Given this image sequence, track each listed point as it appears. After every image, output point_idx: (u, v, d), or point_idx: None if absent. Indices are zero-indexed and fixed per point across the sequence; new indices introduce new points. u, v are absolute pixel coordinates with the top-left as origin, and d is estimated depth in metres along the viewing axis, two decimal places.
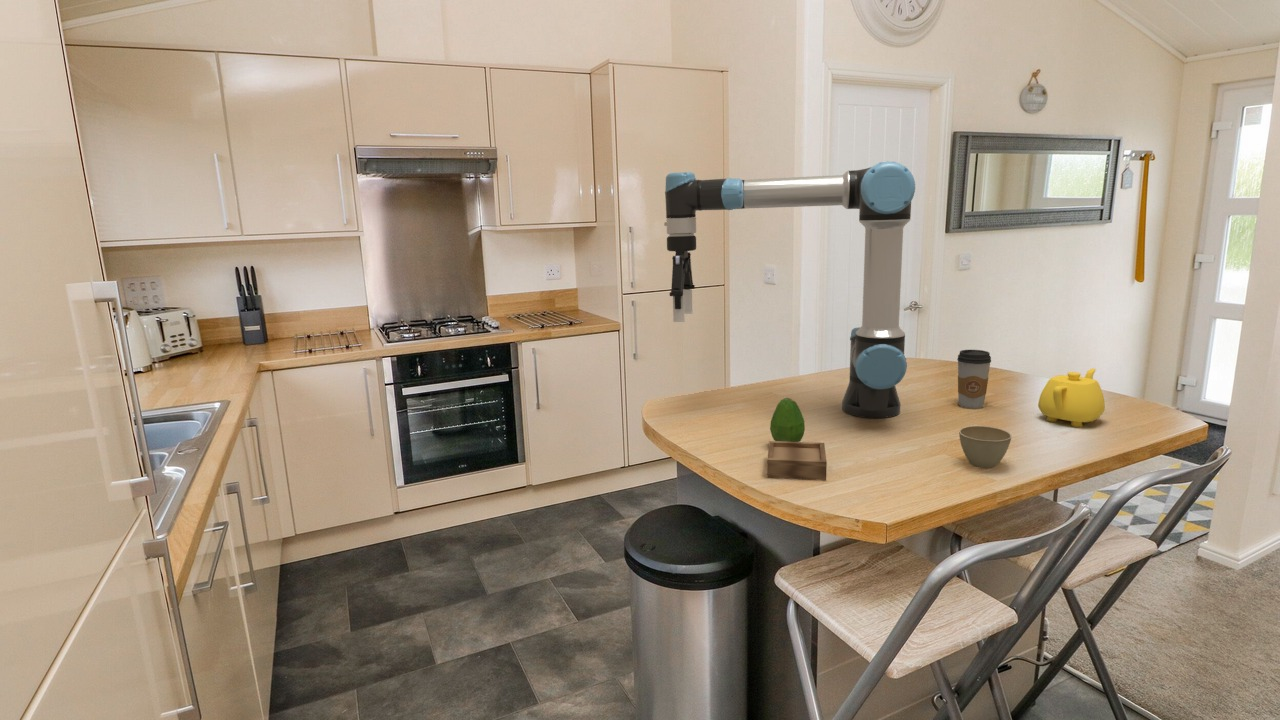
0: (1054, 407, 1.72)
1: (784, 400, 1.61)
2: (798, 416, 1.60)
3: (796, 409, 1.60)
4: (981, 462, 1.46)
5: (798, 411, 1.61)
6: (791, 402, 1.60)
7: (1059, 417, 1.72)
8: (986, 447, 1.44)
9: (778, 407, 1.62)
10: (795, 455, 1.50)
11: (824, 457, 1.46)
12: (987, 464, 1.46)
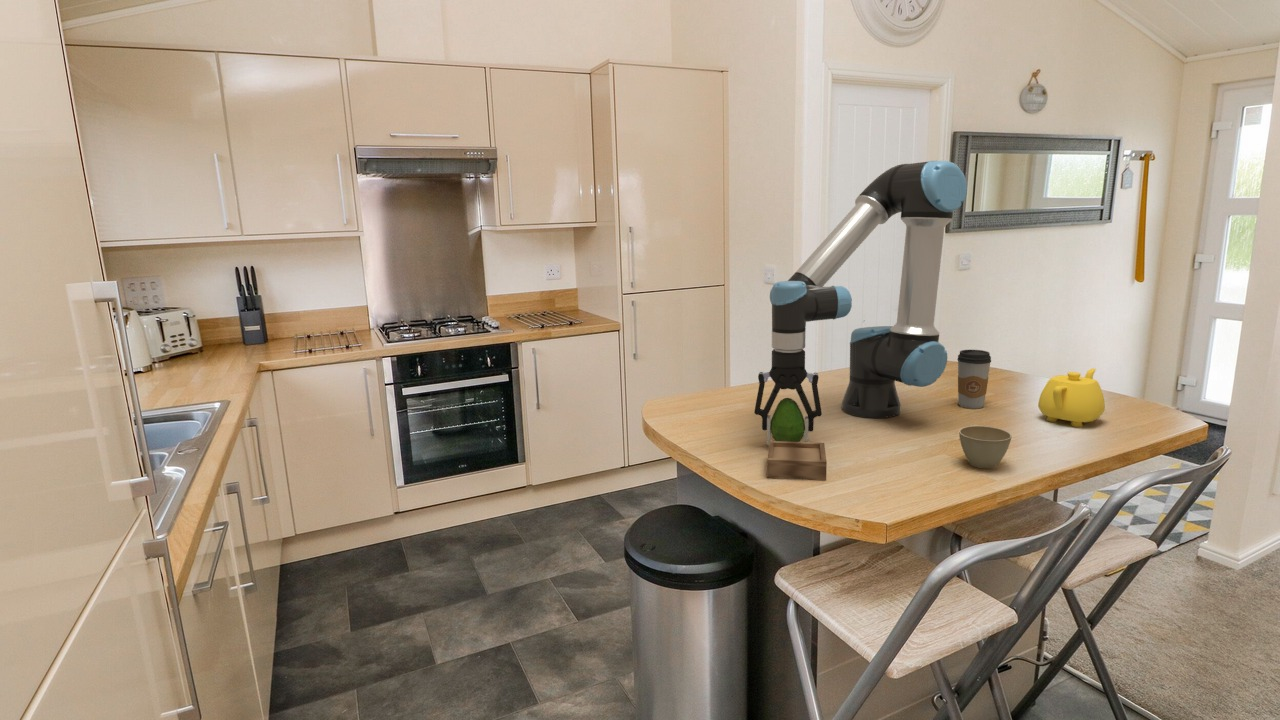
0: (1054, 407, 1.72)
1: (784, 400, 1.61)
2: (798, 416, 1.60)
3: (796, 409, 1.60)
4: (981, 462, 1.46)
5: (798, 411, 1.61)
6: (791, 402, 1.60)
7: (1059, 417, 1.72)
8: (986, 447, 1.44)
9: (778, 407, 1.62)
10: (795, 455, 1.50)
11: (824, 457, 1.46)
12: (987, 464, 1.46)
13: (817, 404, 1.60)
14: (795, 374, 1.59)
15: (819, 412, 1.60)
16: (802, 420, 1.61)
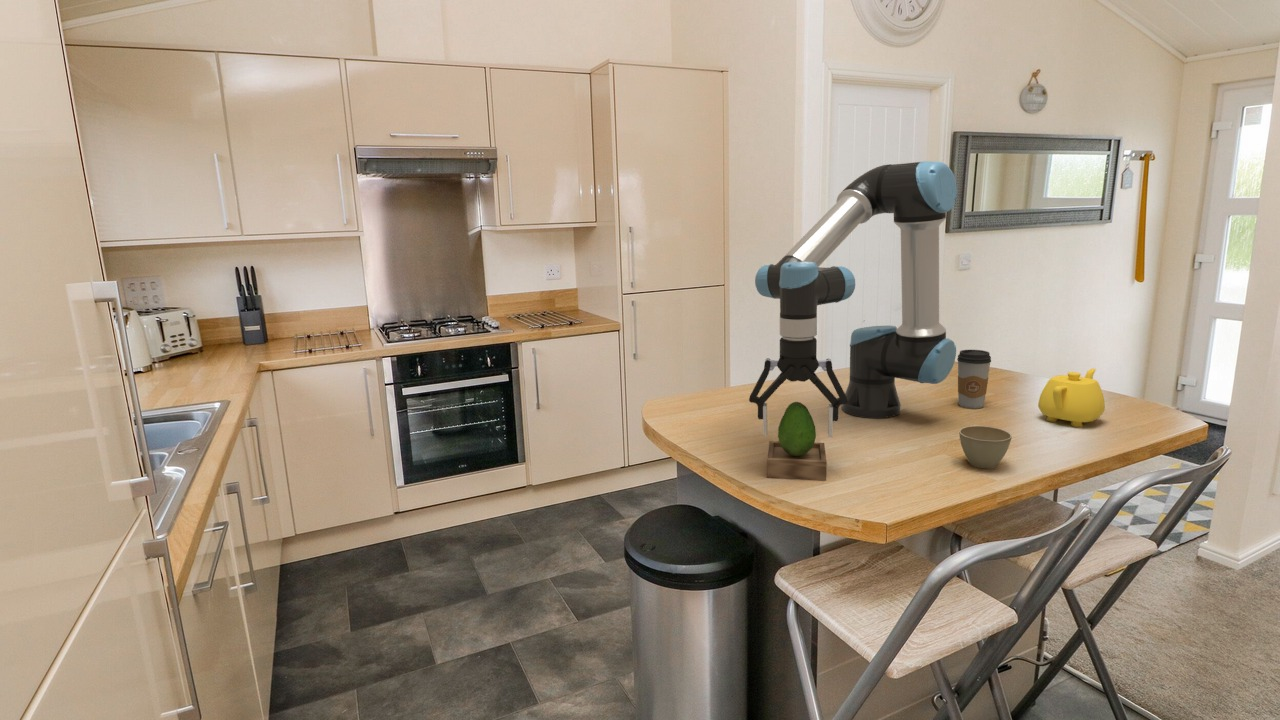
0: (1054, 407, 1.72)
1: (793, 404, 1.47)
2: (808, 422, 1.46)
3: (806, 414, 1.46)
4: (981, 462, 1.46)
5: (809, 416, 1.46)
6: (801, 406, 1.46)
7: (1059, 417, 1.72)
8: (986, 447, 1.44)
9: (787, 412, 1.47)
10: None
11: (824, 457, 1.46)
12: (988, 464, 1.46)
13: (839, 391, 1.44)
14: (804, 364, 1.45)
15: (844, 399, 1.44)
16: (813, 426, 1.47)
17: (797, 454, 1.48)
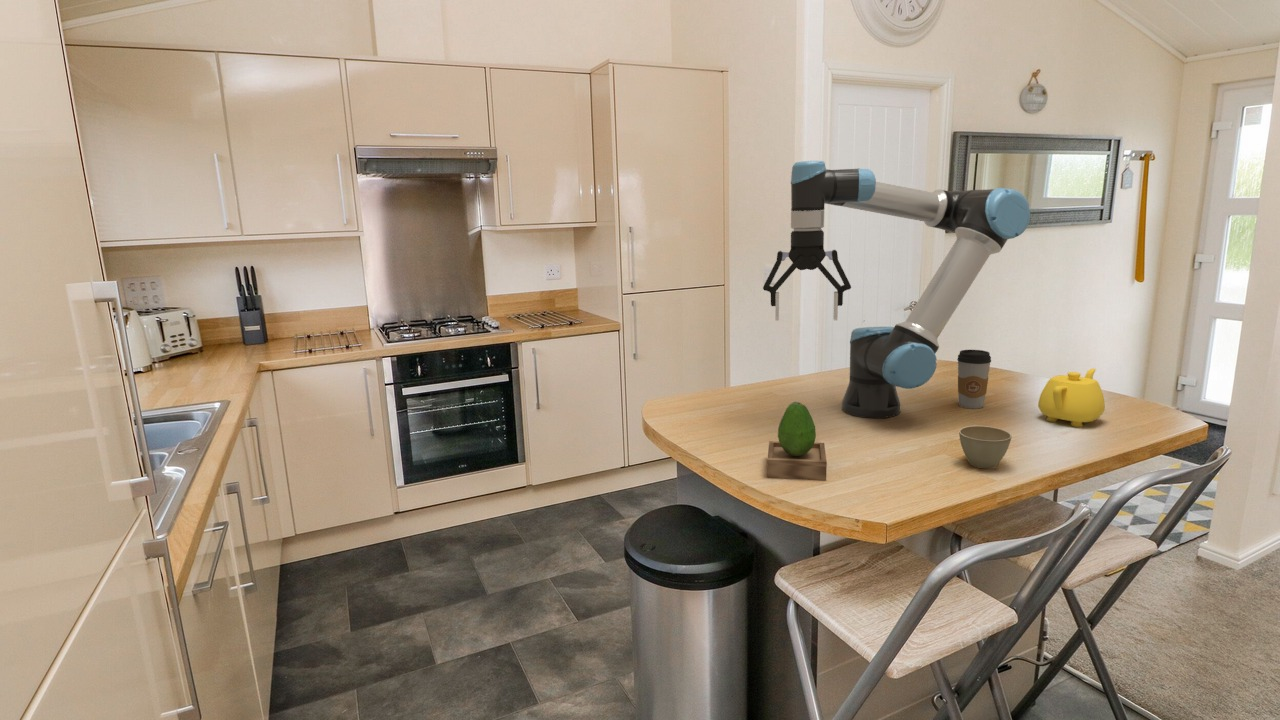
0: (1054, 407, 1.72)
1: (793, 404, 1.47)
2: (808, 422, 1.46)
3: (806, 414, 1.46)
4: (981, 462, 1.46)
5: (809, 416, 1.46)
6: (801, 407, 1.46)
7: (1059, 417, 1.72)
8: (986, 447, 1.44)
9: (787, 412, 1.47)
10: None
11: (824, 457, 1.46)
12: (988, 464, 1.46)
13: (844, 278, 1.62)
14: (813, 254, 1.63)
15: (848, 285, 1.62)
16: (813, 426, 1.47)
17: (797, 454, 1.48)
